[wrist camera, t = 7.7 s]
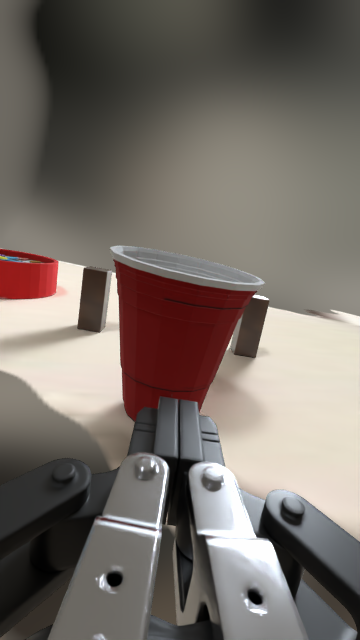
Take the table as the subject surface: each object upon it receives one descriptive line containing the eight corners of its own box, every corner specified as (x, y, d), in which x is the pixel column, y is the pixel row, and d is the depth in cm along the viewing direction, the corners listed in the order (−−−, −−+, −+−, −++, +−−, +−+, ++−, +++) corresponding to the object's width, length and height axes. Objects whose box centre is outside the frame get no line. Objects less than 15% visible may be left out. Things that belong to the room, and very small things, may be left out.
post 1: (105, 326, 44) (112, 270, 42) (100, 332, 41) (107, 272, 39) (83, 323, 44) (90, 266, 42) (77, 328, 41) (83, 267, 39)
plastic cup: (120, 475, 17) (154, 255, 14) (74, 385, 26) (90, 238, 23) (260, 439, 23) (303, 278, 20) (184, 376, 32) (206, 258, 29)
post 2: (250, 350, 45) (263, 296, 43) (255, 357, 42) (269, 300, 40) (230, 347, 45) (242, 292, 43) (234, 354, 42) (247, 296, 40)
